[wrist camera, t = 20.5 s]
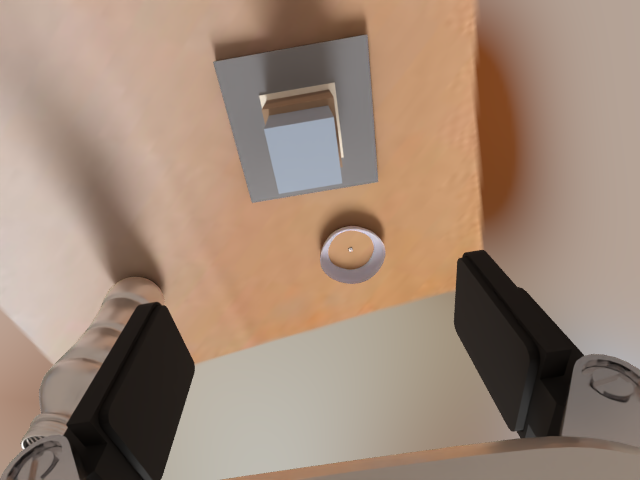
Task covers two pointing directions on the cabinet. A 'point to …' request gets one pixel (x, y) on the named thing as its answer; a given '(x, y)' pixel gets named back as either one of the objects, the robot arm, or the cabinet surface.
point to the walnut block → (302, 107)
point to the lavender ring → (355, 274)
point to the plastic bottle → (87, 357)
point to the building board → (294, 79)
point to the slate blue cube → (303, 149)
